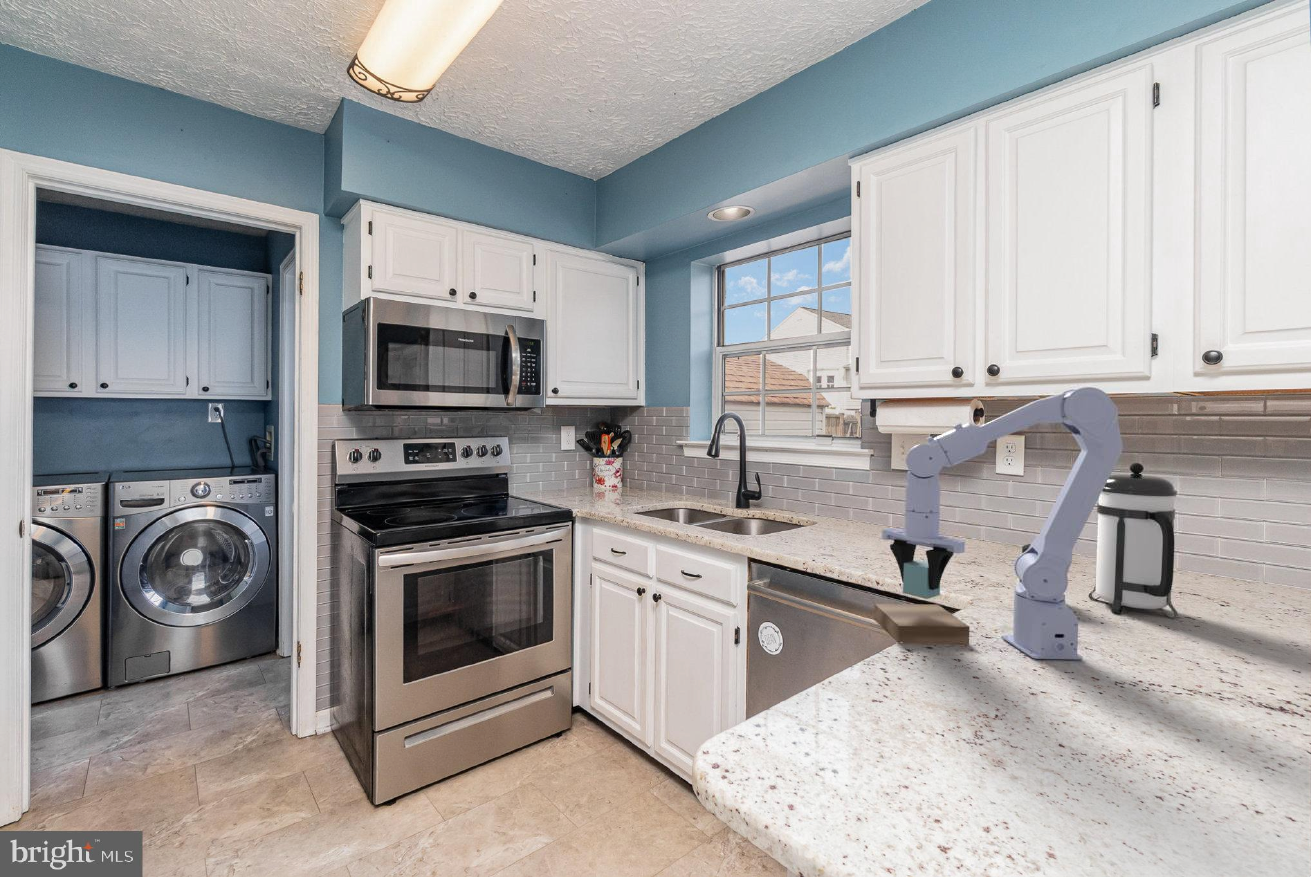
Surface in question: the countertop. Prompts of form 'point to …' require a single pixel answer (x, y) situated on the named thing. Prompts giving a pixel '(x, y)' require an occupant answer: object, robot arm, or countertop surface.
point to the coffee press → (1135, 542)
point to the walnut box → (921, 624)
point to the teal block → (918, 580)
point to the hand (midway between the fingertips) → (920, 585)
